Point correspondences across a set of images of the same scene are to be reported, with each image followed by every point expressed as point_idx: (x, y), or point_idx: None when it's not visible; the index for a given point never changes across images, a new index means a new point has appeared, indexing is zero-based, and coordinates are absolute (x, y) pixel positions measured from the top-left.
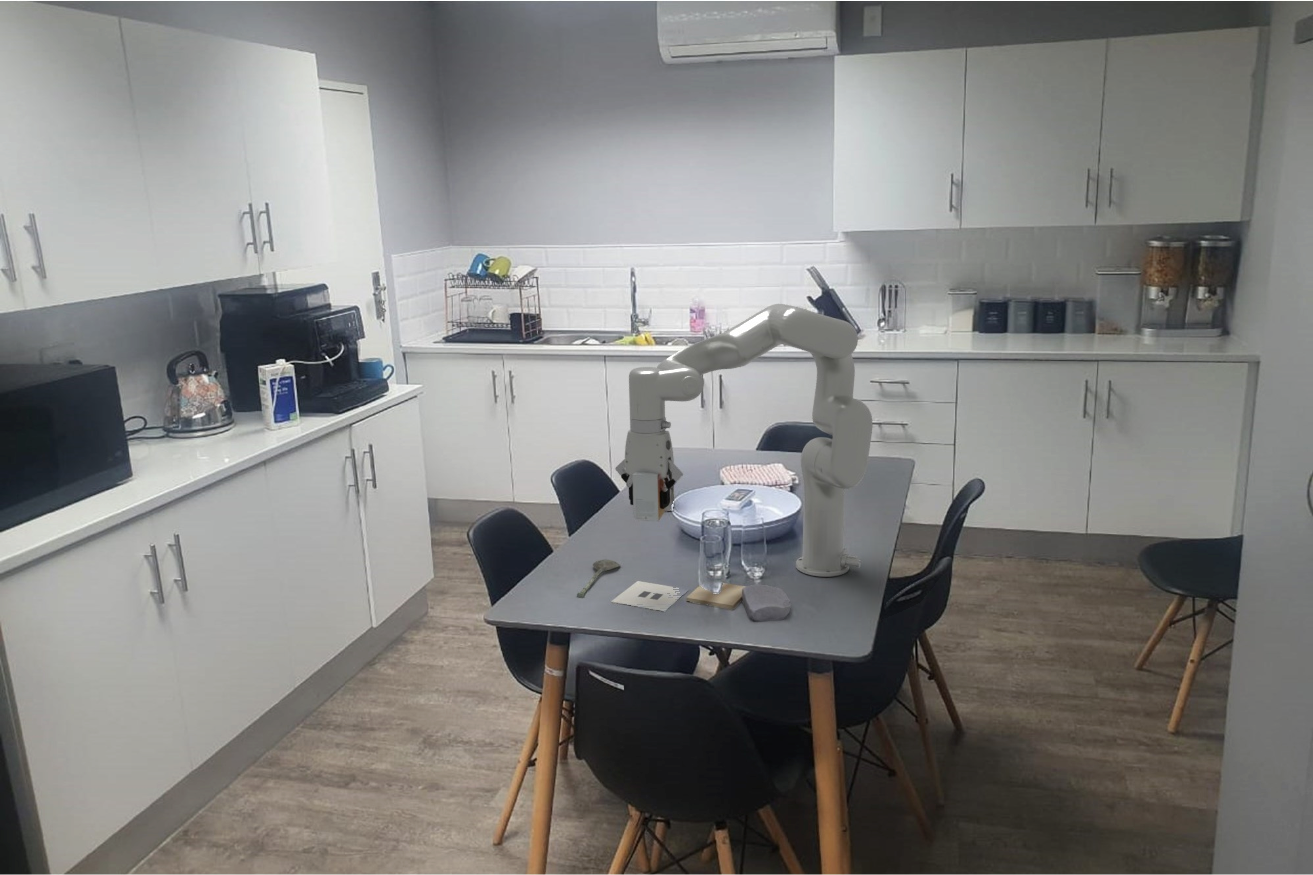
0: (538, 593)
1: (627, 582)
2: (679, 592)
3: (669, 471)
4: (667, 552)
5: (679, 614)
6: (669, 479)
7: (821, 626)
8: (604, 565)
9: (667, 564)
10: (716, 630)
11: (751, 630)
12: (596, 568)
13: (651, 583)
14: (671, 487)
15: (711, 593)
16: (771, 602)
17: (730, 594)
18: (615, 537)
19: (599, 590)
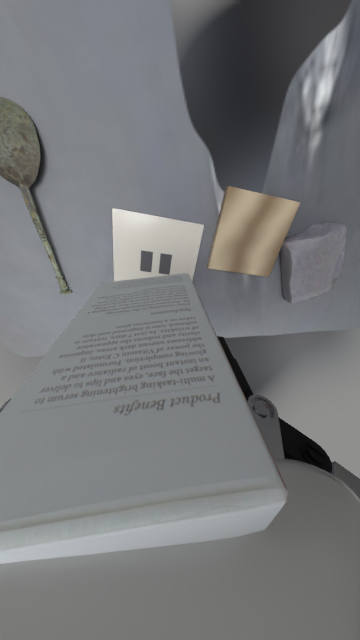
0: (3, 295)
1: (97, 216)
2: (192, 240)
3: (318, 489)
4: None
5: (205, 303)
6: (281, 447)
7: (353, 289)
8: (18, 171)
9: (125, 66)
10: (247, 325)
11: (281, 316)
12: (9, 181)
13: (139, 214)
14: (267, 402)
15: (240, 245)
16: (320, 286)
17: (267, 241)
18: None
19: (75, 261)
